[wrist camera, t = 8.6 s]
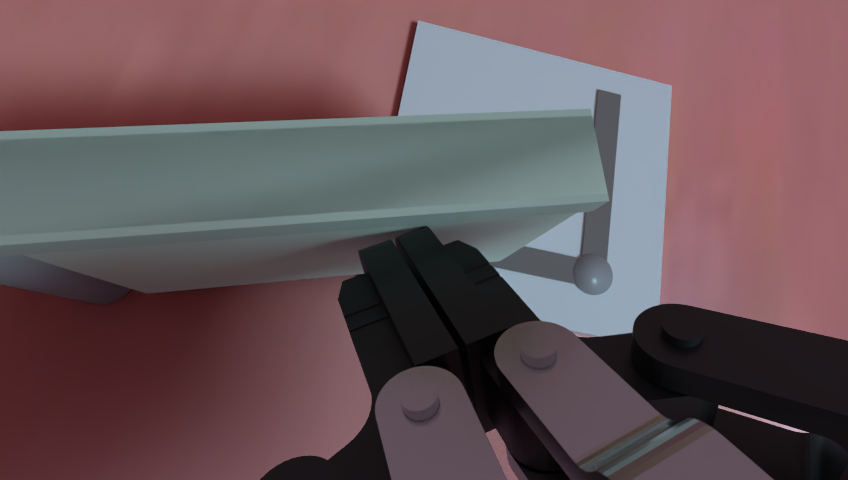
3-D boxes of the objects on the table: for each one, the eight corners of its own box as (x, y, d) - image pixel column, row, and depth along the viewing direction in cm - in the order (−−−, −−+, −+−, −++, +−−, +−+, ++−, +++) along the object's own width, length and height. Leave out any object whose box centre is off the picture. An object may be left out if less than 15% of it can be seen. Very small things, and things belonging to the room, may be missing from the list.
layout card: (652, 347, 17) (658, 347, 16) (361, 289, 16) (361, 288, 15) (667, 89, 19) (673, 84, 19) (417, 25, 18) (418, 18, 18)
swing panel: (146, 298, 14) (-33, 247, 7) (147, 234, 15) (-24, 132, 8) (500, 265, 16) (609, 201, 9) (491, 209, 16) (590, 108, 10)
